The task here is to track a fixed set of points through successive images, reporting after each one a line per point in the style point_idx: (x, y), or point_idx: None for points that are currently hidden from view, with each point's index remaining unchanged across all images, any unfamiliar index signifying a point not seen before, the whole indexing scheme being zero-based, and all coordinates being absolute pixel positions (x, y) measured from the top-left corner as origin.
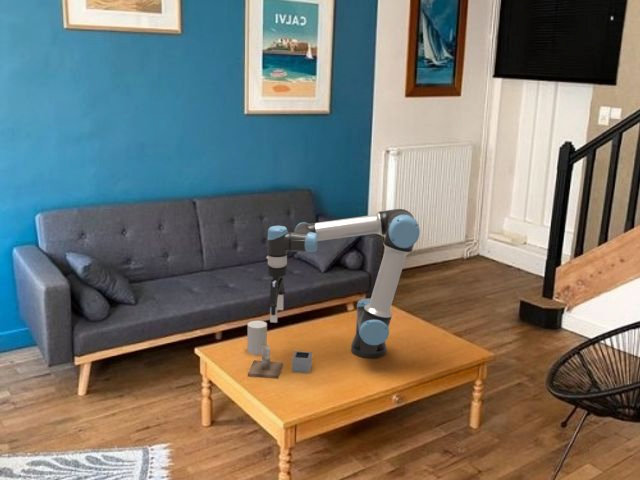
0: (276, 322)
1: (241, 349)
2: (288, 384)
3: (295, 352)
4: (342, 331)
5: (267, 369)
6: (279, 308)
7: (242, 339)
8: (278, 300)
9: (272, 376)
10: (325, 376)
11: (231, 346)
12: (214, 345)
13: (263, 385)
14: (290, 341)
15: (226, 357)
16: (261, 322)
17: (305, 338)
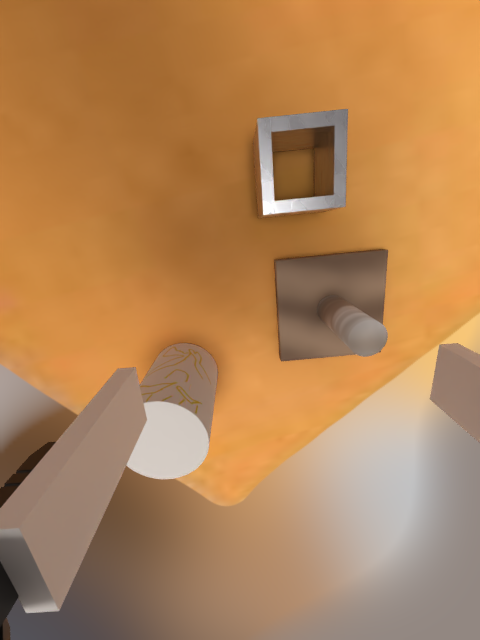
0: (456, 347)
1: None
2: (424, 199)
3: (280, 206)
4: None
5: (343, 299)
6: (136, 406)
7: None
8: (101, 489)
9: (384, 270)
10: (340, 50)
11: None
12: (191, 486)
13: (435, 283)
14: (63, 284)
15: (260, 437)
16: None
17: (5, 232)
